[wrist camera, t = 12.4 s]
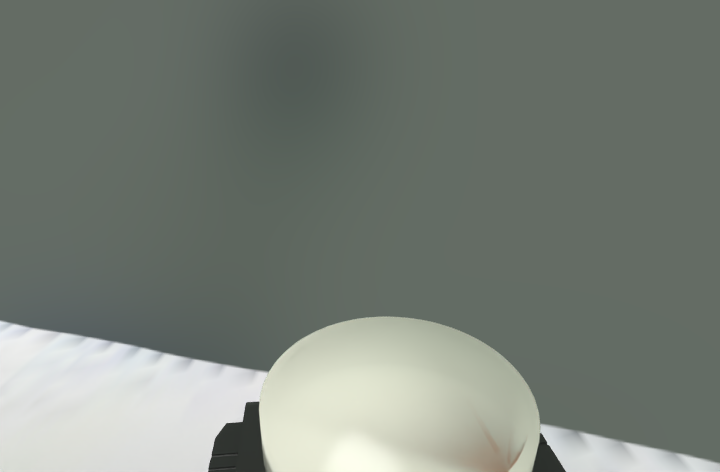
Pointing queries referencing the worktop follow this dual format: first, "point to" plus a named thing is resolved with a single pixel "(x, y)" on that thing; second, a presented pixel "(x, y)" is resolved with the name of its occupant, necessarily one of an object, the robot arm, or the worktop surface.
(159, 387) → the worktop surface
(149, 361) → the worktop surface
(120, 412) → the worktop surface
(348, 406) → the terracotta jar
